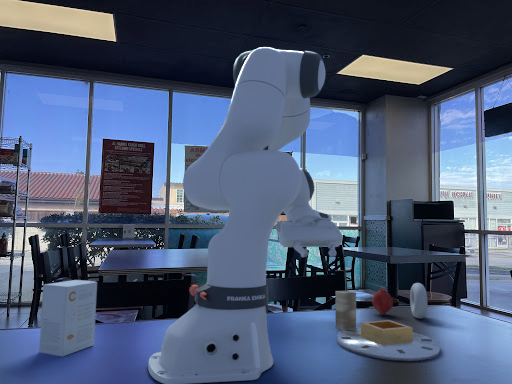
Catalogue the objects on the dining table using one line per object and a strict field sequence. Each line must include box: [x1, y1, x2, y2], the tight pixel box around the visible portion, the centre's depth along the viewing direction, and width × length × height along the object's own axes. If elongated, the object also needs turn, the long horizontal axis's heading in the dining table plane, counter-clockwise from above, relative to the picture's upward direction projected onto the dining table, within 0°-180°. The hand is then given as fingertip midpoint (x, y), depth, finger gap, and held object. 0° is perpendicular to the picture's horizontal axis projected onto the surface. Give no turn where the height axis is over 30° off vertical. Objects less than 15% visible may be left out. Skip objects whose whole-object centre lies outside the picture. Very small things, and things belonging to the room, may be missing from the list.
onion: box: [371, 287, 394, 316], centre depth 116 cm, size 6×6×8 cm
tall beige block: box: [335, 290, 357, 331], centre depth 99 cm, size 4×3×9 cm
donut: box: [409, 282, 428, 320], centre depth 112 cm, size 10×4×10 cm, turn 168°
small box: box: [38, 279, 98, 358], centre depth 78 cm, size 8×6×13 cm
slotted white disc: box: [336, 319, 440, 362], centre depth 85 cm, size 21×21×4 cm
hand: (319, 255), depth 112 cm, fingers open, 8 cm apart
